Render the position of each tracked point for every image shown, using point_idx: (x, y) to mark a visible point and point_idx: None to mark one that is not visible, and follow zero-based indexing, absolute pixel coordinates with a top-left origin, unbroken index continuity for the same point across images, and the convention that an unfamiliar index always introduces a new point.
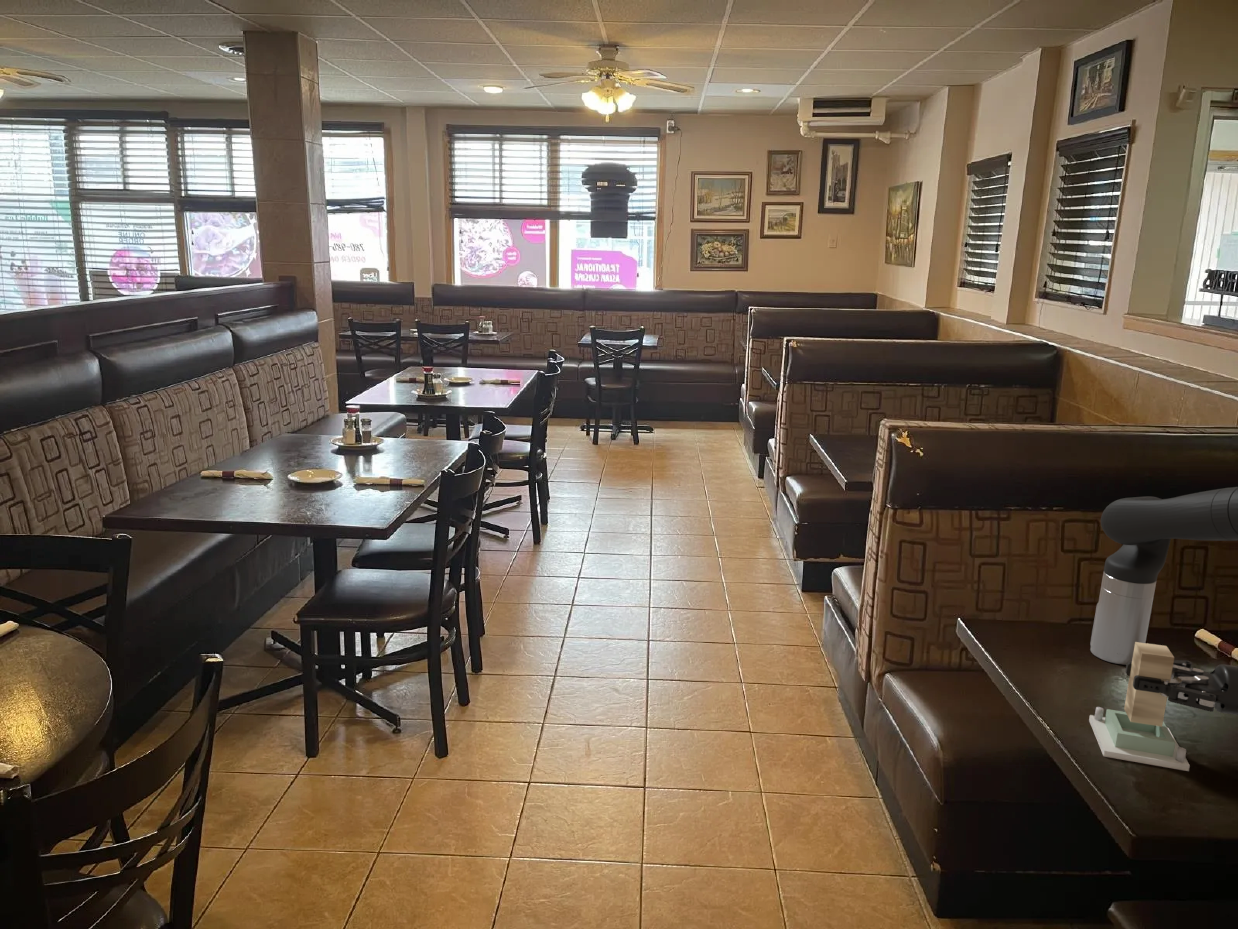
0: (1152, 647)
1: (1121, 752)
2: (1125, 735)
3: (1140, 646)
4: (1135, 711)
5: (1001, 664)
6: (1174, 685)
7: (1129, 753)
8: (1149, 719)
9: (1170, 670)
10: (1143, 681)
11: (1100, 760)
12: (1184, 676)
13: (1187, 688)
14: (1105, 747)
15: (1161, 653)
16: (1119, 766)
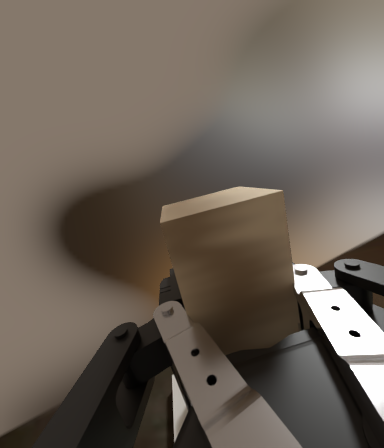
0: (224, 195)
1: (177, 403)
2: None
3: (211, 194)
4: None
5: (351, 251)
6: (121, 328)
7: (180, 419)
8: None
9: (177, 278)
10: (162, 282)
11: (165, 382)
12: (276, 355)
13: (106, 376)
14: None
15: (182, 209)
16: (155, 415)
